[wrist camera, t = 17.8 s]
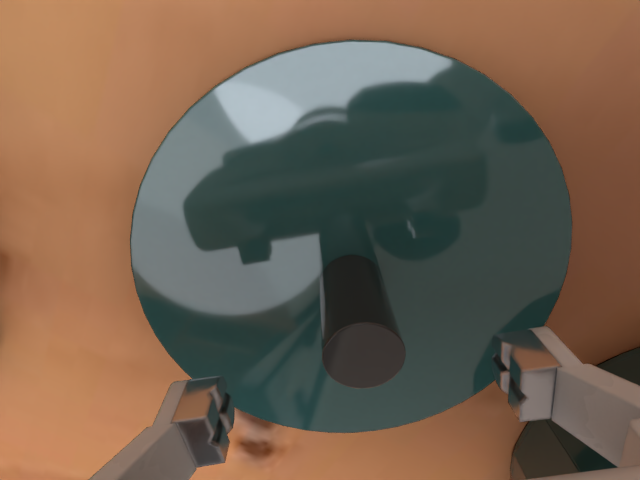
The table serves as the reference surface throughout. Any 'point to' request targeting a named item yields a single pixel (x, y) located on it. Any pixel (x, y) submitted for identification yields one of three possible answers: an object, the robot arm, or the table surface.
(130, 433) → the table surface
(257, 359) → the lid
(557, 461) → the pot
